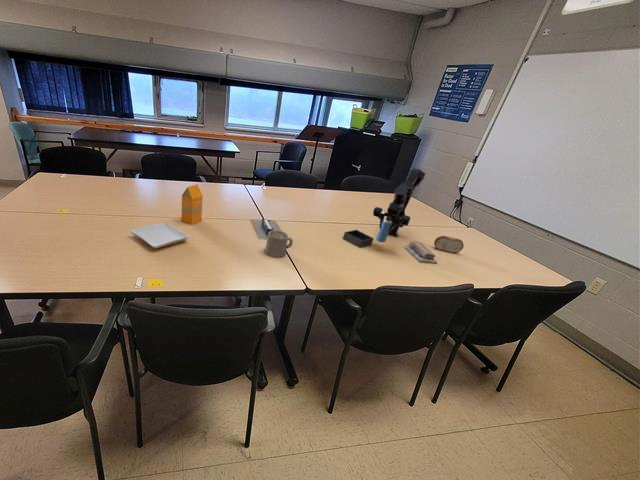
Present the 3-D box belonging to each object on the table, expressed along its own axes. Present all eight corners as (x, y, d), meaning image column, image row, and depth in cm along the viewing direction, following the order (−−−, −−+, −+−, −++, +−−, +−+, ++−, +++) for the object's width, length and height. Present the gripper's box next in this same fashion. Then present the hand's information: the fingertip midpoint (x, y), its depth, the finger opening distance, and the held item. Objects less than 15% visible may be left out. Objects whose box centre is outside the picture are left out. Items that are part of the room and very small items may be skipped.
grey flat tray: (259, 238, 172) (260, 231, 170) (251, 220, 192) (252, 213, 190) (285, 239, 175) (286, 232, 172) (274, 221, 195) (275, 215, 193)
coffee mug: (267, 256, 154) (270, 238, 149) (263, 247, 162) (266, 229, 157) (293, 258, 156) (297, 239, 151) (288, 249, 165) (292, 231, 159)
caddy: (354, 235, 191) (356, 229, 189) (371, 244, 182) (373, 238, 180) (342, 238, 185) (344, 231, 183) (359, 247, 177) (362, 240, 175)
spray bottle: (377, 237, 177) (386, 214, 169) (385, 240, 175) (395, 216, 167) (374, 240, 174) (384, 216, 166) (383, 243, 172) (393, 219, 164)
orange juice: (201, 220, 184) (203, 186, 173) (191, 224, 177) (192, 188, 166) (191, 216, 187) (192, 182, 176) (181, 220, 180) (181, 185, 169)
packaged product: (407, 239, 182) (423, 241, 183) (404, 247, 185) (420, 248, 185) (423, 254, 167) (441, 255, 168) (419, 262, 169) (436, 263, 170)
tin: (458, 252, 187) (465, 240, 182) (459, 255, 184) (467, 242, 180) (431, 246, 190) (437, 233, 186) (432, 248, 188) (438, 235, 183)
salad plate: (190, 241, 158) (190, 235, 157) (154, 252, 145) (154, 246, 143) (165, 227, 170) (165, 221, 168) (129, 236, 156) (129, 229, 154)
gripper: (380, 192, 168) (367, 216, 167) (417, 202, 160) (404, 227, 158) (379, 203, 178) (367, 226, 176) (414, 213, 170) (401, 237, 168)
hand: (384, 229), depth 169 cm, fingers closed on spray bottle, 5 cm apart
